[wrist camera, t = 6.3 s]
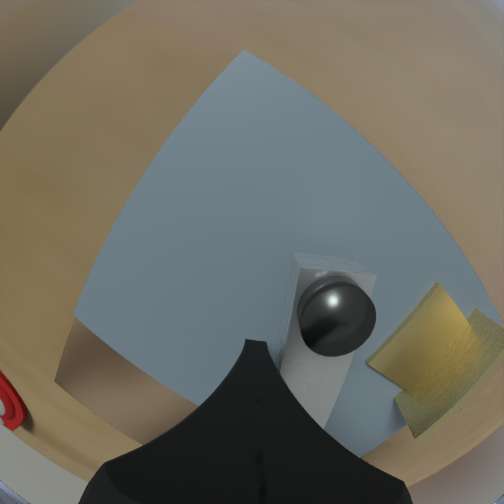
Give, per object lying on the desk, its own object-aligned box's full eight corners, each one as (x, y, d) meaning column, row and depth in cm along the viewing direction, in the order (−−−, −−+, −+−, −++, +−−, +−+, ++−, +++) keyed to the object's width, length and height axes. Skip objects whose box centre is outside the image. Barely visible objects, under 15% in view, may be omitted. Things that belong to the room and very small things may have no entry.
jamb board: (337, 446, 14) (344, 477, 12) (273, 481, 16) (274, 508, 13) (91, 303, 12) (61, 327, 9) (65, 368, 14) (44, 392, 11)
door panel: (483, 308, 11) (502, 322, 10) (342, 444, 14) (347, 465, 12) (246, 70, 9) (243, 49, 7) (94, 297, 12) (72, 314, 10)
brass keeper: (481, 317, 9) (516, 345, 7) (402, 403, 11) (423, 442, 8) (446, 266, 9) (493, 292, 6) (352, 372, 10) (372, 421, 7)
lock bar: (287, 487, 11) (289, 518, 9) (235, 485, 11) (232, 516, 9) (373, 260, 8) (410, 288, 5) (271, 248, 8) (275, 276, 5)
